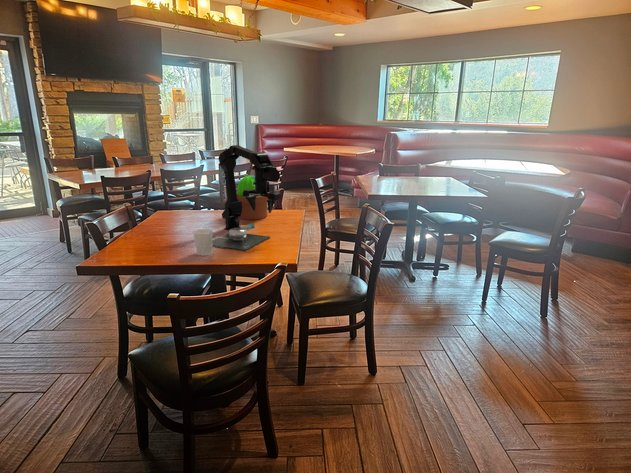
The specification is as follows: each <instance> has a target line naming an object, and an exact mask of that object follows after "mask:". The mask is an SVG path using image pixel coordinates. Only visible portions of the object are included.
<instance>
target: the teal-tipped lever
mask: <svg viewBox="0 0 631 473" xmlns="http://www.w3.org/2000/svg"><path fill="white" fill-rule="evenodd" d="M255 225H256V224H255V223H254V222H249V223H248V224H246V225H244V226H240V227H241V228H233V229H230V230H228V233H229V235H230V238H234V239H239V238H244V237H246V236H247V234H248V231H250V230H252V229H255V227H256V226H255Z"/></svg>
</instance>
